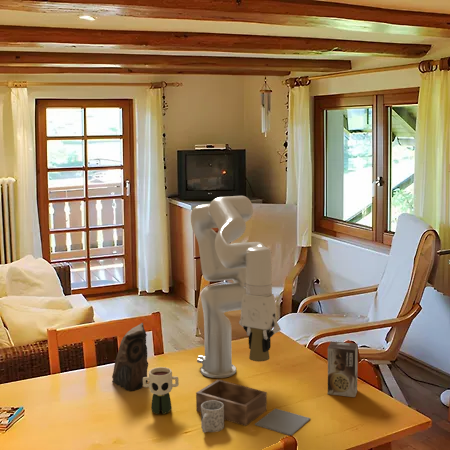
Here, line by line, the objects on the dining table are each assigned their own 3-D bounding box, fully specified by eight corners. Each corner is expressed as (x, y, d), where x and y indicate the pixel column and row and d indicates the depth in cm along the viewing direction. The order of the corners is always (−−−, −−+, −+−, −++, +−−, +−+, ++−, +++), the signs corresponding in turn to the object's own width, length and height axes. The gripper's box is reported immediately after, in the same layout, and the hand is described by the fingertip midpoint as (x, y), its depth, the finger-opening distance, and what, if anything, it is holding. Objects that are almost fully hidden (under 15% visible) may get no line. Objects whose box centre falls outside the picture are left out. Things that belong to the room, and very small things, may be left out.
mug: (207, 419, 191) (206, 399, 190) (227, 423, 189) (227, 402, 188) (192, 435, 182) (192, 413, 181) (214, 439, 180) (213, 417, 179)
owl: (146, 374, 226) (144, 319, 223) (158, 387, 215) (156, 330, 212) (111, 381, 221) (108, 325, 217) (122, 394, 210) (119, 336, 206)
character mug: (142, 416, 194) (141, 376, 192) (145, 406, 201) (143, 367, 199) (178, 416, 194) (177, 375, 192) (179, 405, 201) (178, 366, 199)
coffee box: (357, 389, 211) (358, 343, 208) (355, 398, 205) (356, 350, 202) (330, 386, 214) (330, 340, 211) (326, 394, 208) (327, 347, 205)
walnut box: (196, 410, 197) (196, 392, 196) (218, 396, 207) (218, 379, 206) (245, 425, 187) (245, 406, 186) (266, 410, 197) (266, 392, 196)
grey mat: (255, 425, 188) (255, 423, 188) (275, 409, 198) (275, 408, 197) (291, 435, 181) (291, 434, 181) (310, 419, 191) (310, 418, 191)
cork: (267, 362, 186) (267, 325, 184) (247, 360, 187) (247, 324, 185) (271, 354, 192) (270, 319, 190) (251, 353, 193) (250, 318, 191)
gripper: (228, 288, 188) (229, 347, 191) (276, 296, 178) (277, 358, 181) (242, 282, 194) (243, 340, 197) (290, 290, 184) (290, 351, 187)
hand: (259, 348), depth 189 cm, fingers closed on cork, 4 cm apart
